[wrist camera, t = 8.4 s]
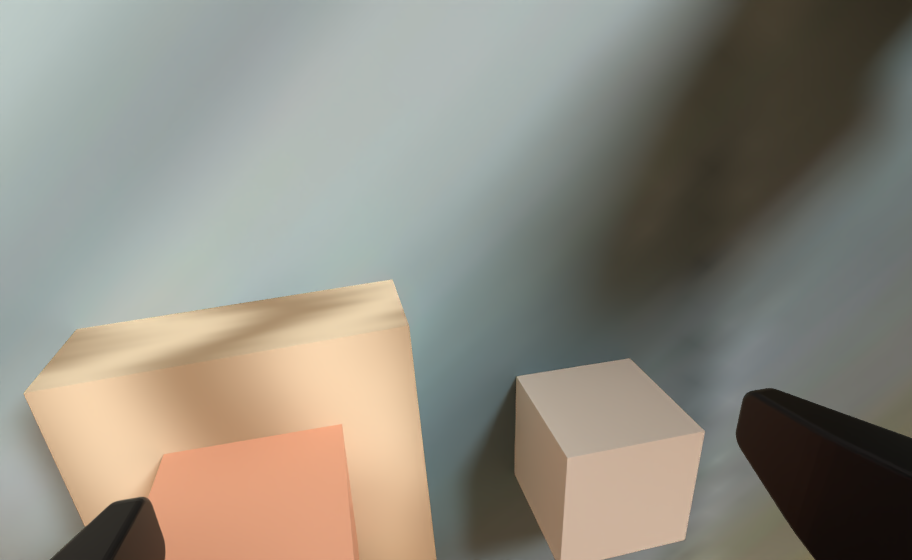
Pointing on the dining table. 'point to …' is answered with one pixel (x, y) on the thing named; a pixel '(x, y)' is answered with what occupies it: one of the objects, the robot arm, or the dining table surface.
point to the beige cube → (604, 459)
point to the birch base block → (246, 401)
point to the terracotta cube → (258, 499)
